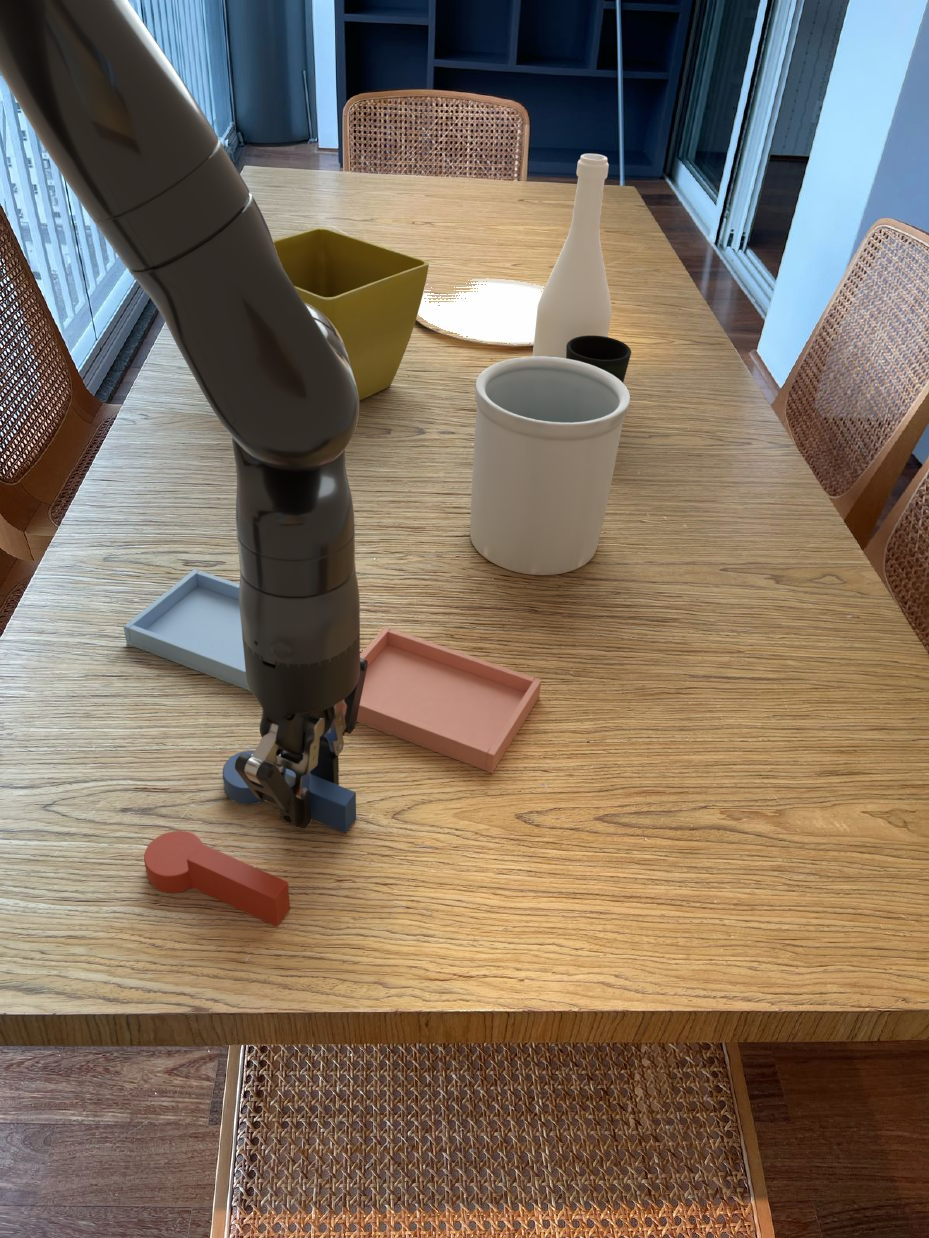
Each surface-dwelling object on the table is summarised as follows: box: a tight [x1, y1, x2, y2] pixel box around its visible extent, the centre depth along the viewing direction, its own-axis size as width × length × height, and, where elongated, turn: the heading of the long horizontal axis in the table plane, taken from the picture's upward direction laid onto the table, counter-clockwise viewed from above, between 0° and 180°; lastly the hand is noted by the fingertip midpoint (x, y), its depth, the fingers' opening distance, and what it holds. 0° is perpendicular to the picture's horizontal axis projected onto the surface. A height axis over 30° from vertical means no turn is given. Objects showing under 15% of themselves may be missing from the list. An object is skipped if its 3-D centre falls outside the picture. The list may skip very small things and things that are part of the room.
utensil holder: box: [469, 355, 631, 576], centre depth 101 cm, size 15×15×18 cm
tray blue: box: [123, 568, 252, 692], centre depth 90 cm, size 15×10×2 cm
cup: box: [566, 335, 632, 384], centre depth 122 cm, size 8×8×12 cm
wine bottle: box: [532, 153, 613, 359], centre depth 127 cm, size 10×10×30 cm
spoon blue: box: [221, 749, 357, 834], centre depth 75 cm, size 11×4×3 cm, turn 65°
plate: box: [416, 278, 545, 348], centre depth 157 cm, size 29×29×1 cm
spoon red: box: [143, 830, 291, 928], centre depth 68 cm, size 11×4×3 cm, turn 65°
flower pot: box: [273, 227, 430, 402], centre depth 128 cm, size 19×19×17 cm
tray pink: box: [343, 626, 543, 774], centre depth 85 cm, size 15×10×2 cm
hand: (310, 803), depth 75 cm, fingers open, 3 cm apart
